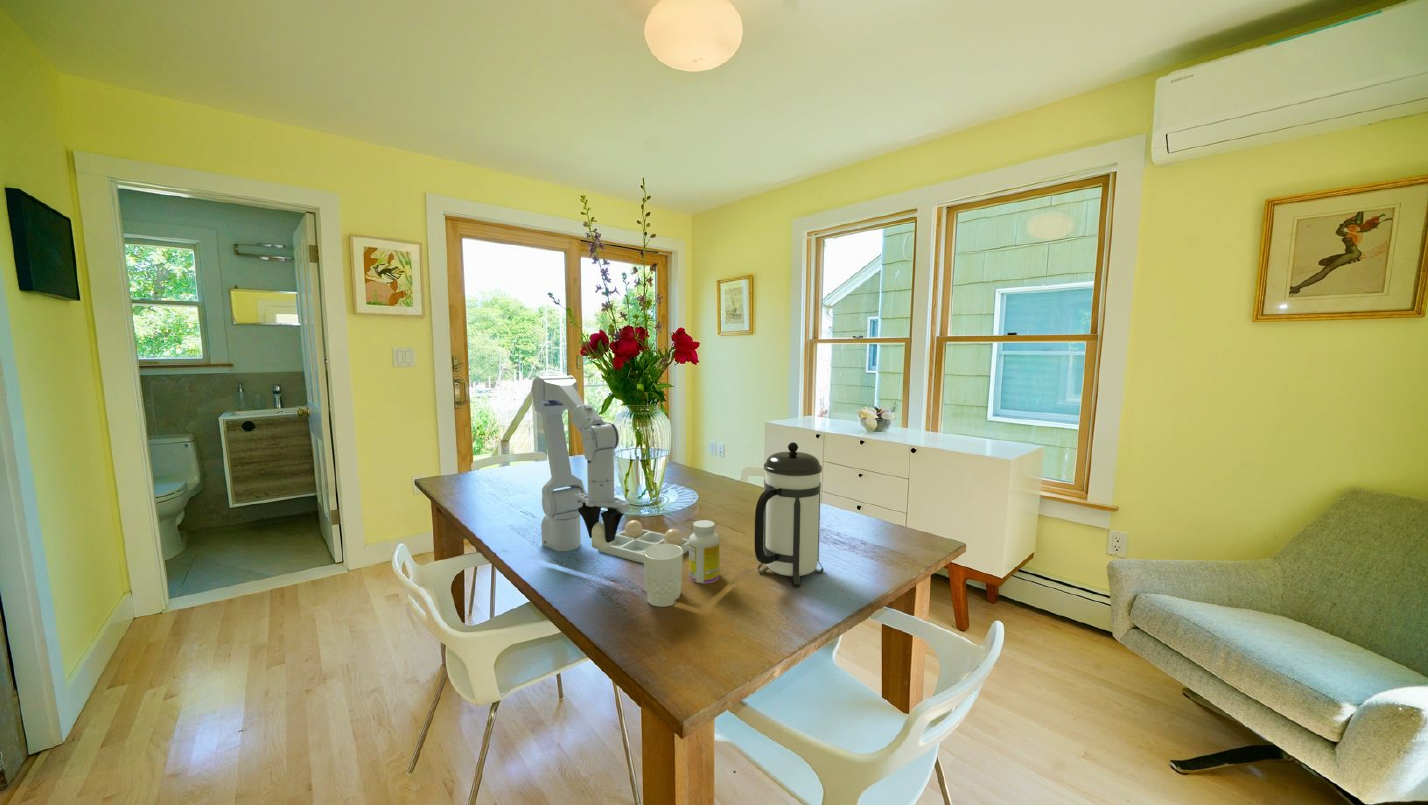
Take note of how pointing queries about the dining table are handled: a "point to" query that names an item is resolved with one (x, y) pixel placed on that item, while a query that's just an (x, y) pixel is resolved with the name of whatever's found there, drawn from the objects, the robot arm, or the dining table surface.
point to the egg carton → (637, 545)
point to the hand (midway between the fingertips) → (602, 538)
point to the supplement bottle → (704, 553)
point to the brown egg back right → (673, 537)
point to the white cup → (663, 574)
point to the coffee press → (789, 515)
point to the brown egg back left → (633, 529)
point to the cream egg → (599, 536)
